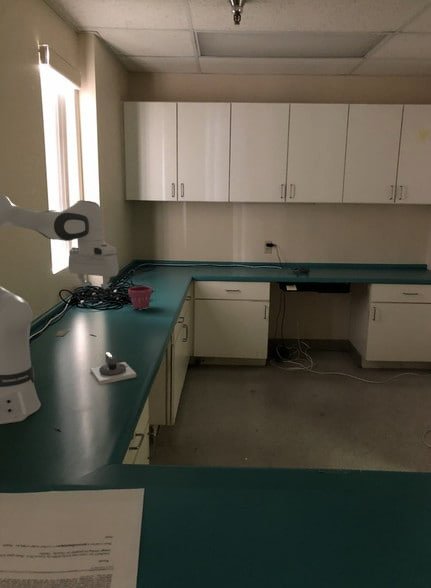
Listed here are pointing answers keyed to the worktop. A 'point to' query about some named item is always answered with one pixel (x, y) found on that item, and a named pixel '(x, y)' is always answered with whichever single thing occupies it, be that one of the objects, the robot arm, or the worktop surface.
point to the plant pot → (140, 296)
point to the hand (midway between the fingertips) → (94, 287)
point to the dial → (112, 366)
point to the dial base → (112, 378)
